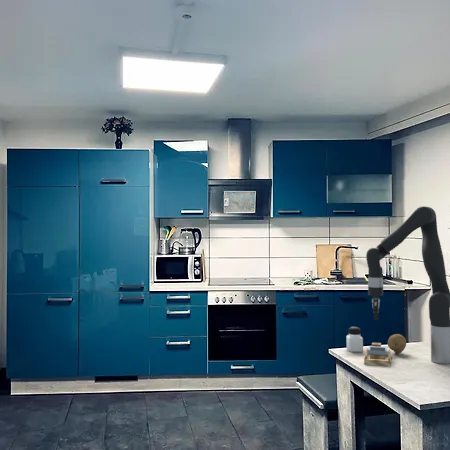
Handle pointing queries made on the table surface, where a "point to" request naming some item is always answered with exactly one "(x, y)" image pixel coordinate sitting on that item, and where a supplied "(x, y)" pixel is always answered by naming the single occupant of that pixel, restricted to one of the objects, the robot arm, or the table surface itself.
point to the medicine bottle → (354, 340)
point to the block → (376, 344)
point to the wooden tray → (377, 359)
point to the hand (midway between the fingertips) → (376, 319)
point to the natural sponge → (397, 343)
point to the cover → (378, 350)
